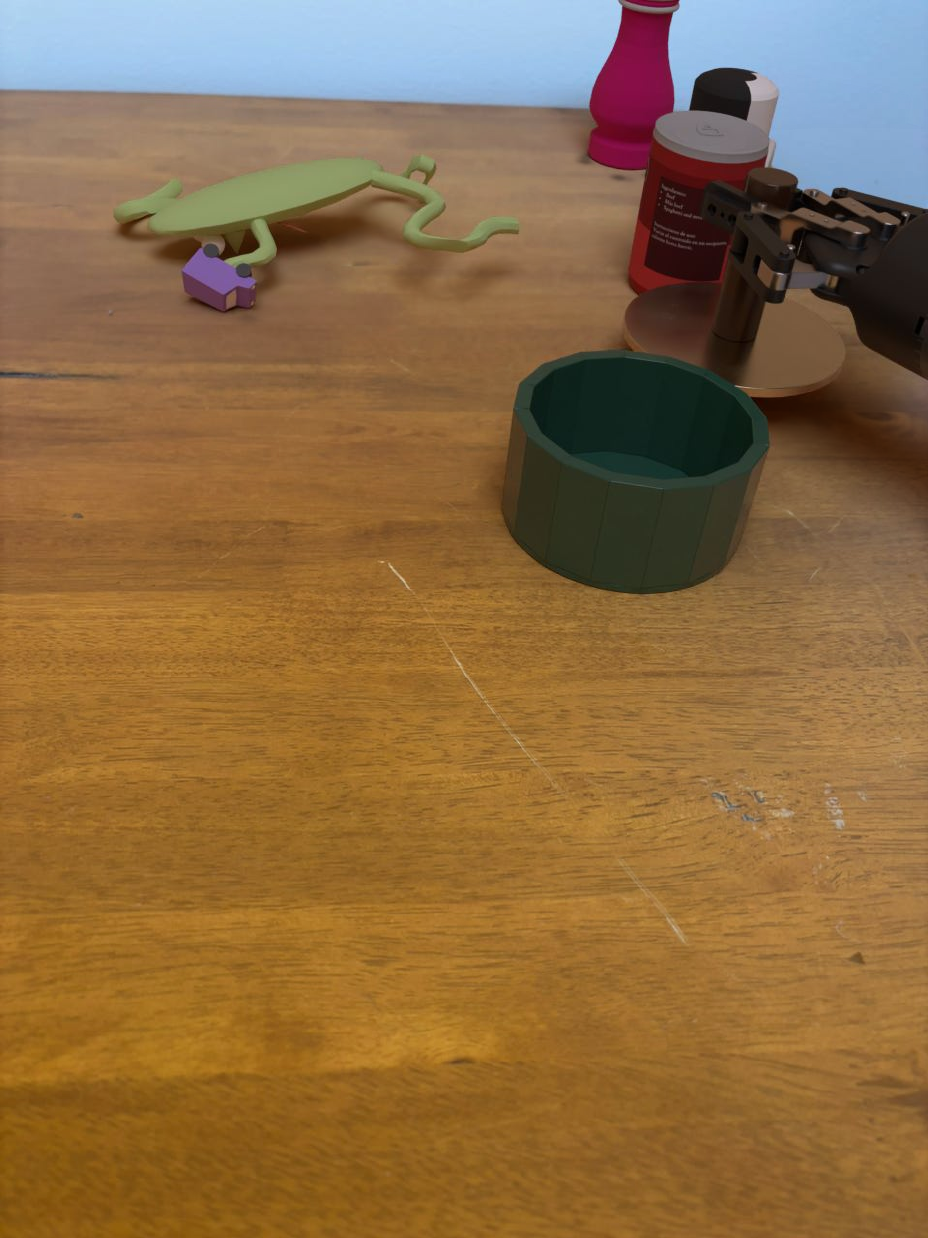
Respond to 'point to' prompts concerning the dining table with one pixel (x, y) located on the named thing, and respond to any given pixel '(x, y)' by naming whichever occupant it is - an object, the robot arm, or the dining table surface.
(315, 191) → the figurine
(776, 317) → the tin lid
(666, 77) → the pepper mill
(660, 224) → the canned food
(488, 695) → the dining table surface
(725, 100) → the medicine bottle
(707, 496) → the tin
